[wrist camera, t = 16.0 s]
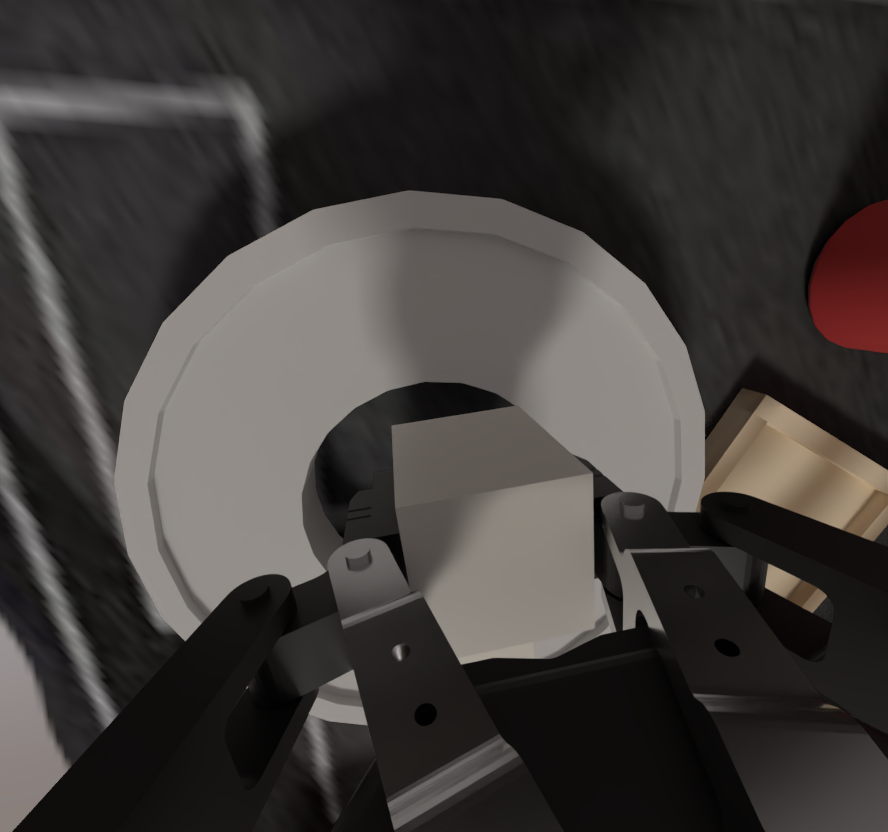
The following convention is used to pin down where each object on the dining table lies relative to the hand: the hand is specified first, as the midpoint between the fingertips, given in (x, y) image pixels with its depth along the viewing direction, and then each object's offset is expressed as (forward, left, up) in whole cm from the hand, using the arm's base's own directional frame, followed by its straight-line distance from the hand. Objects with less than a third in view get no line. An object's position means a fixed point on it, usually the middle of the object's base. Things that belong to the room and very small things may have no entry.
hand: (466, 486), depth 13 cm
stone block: (0, 0, -1) cm, 1 cm away
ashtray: (-1, +3, -7) cm, 8 cm away
